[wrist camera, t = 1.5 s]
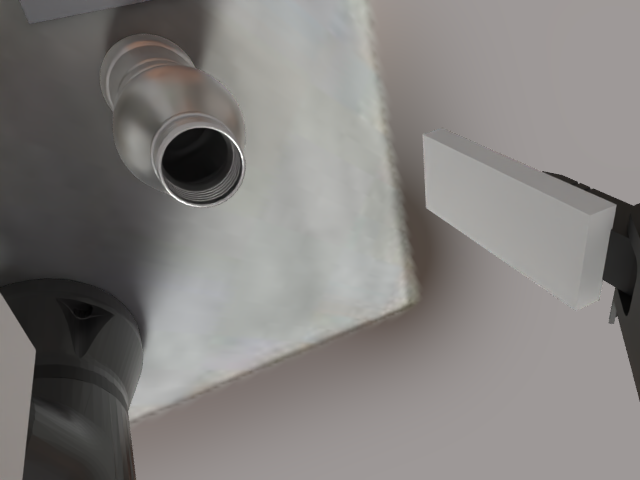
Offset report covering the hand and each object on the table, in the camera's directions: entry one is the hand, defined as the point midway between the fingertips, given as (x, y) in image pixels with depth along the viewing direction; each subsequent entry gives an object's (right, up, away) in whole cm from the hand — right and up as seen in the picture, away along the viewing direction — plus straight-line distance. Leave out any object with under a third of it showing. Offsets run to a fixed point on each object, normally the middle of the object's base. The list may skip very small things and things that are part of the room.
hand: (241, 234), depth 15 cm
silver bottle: (-10, +12, +22) cm, 27 cm away
